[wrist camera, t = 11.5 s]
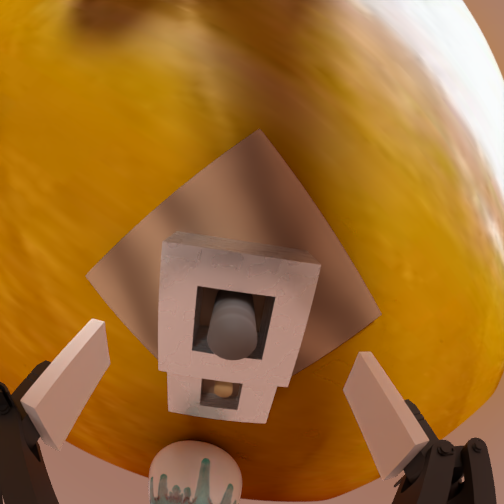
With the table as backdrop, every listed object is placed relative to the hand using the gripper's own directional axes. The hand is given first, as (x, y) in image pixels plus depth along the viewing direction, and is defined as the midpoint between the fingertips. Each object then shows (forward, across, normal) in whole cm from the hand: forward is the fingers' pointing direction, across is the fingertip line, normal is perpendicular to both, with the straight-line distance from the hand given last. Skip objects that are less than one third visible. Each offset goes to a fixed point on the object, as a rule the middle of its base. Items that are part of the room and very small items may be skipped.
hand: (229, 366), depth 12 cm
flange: (+9, 0, -4) cm, 10 cm away
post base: (+11, 0, -1) cm, 11 cm away
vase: (+10, -2, -25) cm, 27 cm away
